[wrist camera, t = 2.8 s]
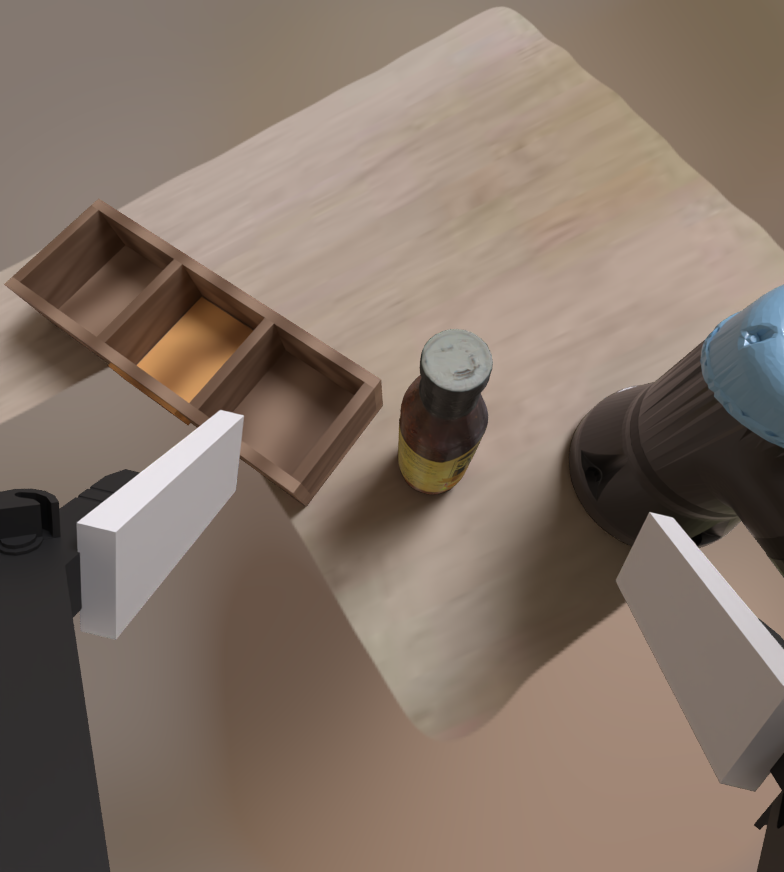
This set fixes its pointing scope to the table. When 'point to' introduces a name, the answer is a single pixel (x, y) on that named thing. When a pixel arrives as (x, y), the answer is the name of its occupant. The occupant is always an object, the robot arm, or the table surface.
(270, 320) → the wooden compartment tray
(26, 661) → the robot arm
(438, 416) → the sauce bottle
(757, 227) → the table surface
